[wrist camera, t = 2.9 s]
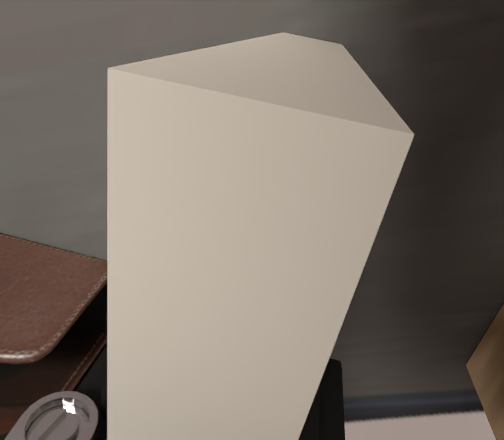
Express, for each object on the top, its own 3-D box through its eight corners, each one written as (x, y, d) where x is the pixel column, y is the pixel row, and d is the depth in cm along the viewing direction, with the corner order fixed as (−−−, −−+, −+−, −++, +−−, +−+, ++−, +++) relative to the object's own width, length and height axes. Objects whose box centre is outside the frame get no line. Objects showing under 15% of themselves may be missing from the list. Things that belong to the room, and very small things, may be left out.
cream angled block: (283, 32, 16) (108, 68, 3) (342, 44, 16) (415, 134, 3) (232, 292, 23) (106, 657, 10) (274, 302, 23) (203, 688, 10)
